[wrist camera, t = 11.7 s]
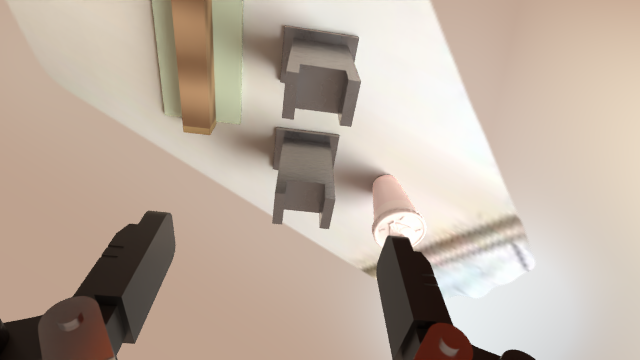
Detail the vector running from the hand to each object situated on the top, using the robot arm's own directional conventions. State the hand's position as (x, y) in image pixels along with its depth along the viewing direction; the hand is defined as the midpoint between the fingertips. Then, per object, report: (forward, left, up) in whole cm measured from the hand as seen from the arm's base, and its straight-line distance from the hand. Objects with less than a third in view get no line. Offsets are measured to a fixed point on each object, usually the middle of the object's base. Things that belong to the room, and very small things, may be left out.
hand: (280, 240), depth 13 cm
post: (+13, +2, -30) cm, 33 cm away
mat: (+2, -11, -30) cm, 32 cm away
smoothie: (+17, +14, -30) cm, 37 cm away
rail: (+2, -11, -30) cm, 32 cm away
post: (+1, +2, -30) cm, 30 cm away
